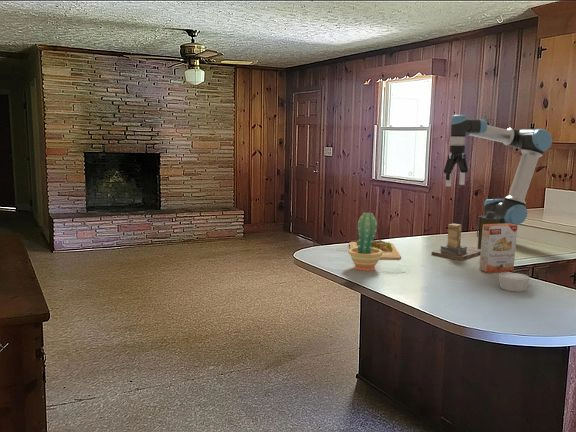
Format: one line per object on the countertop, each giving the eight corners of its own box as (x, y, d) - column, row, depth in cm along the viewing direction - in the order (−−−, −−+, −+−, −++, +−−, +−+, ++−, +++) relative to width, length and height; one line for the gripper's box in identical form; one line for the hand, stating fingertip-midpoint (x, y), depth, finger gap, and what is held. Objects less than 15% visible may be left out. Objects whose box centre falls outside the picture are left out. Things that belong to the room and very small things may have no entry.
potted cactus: (388, 267, 241) (390, 212, 237) (369, 274, 230) (371, 216, 226) (360, 262, 251) (361, 209, 247) (340, 268, 240) (342, 213, 236)
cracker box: (487, 273, 233) (490, 226, 229) (478, 270, 238) (481, 223, 235) (514, 271, 236) (518, 224, 233) (505, 268, 242) (508, 222, 239)
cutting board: (401, 261, 257) (402, 245, 256) (352, 260, 258) (353, 244, 257) (392, 245, 291) (392, 232, 290) (349, 244, 293) (349, 231, 292)
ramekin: (503, 283, 218) (504, 270, 218) (532, 288, 211) (533, 275, 210) (493, 289, 210) (494, 276, 209) (523, 294, 203) (524, 281, 202)
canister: (495, 248, 284) (497, 210, 281) (500, 252, 274) (503, 213, 271) (474, 247, 285) (476, 210, 282) (478, 251, 275) (481, 213, 272)
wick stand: (456, 247, 284) (457, 239, 283) (485, 253, 272) (485, 244, 272) (431, 254, 268) (431, 245, 267) (460, 260, 256) (461, 251, 255)
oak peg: (451, 250, 270) (453, 223, 267) (459, 252, 266) (461, 224, 264) (446, 252, 267) (448, 224, 264) (455, 253, 263) (456, 225, 261)
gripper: (463, 144, 291) (460, 183, 294) (438, 145, 274) (436, 186, 277) (476, 144, 285) (473, 184, 289) (451, 145, 269) (448, 187, 272)
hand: (455, 185), depth 283 cm, fingers open, 13 cm apart
